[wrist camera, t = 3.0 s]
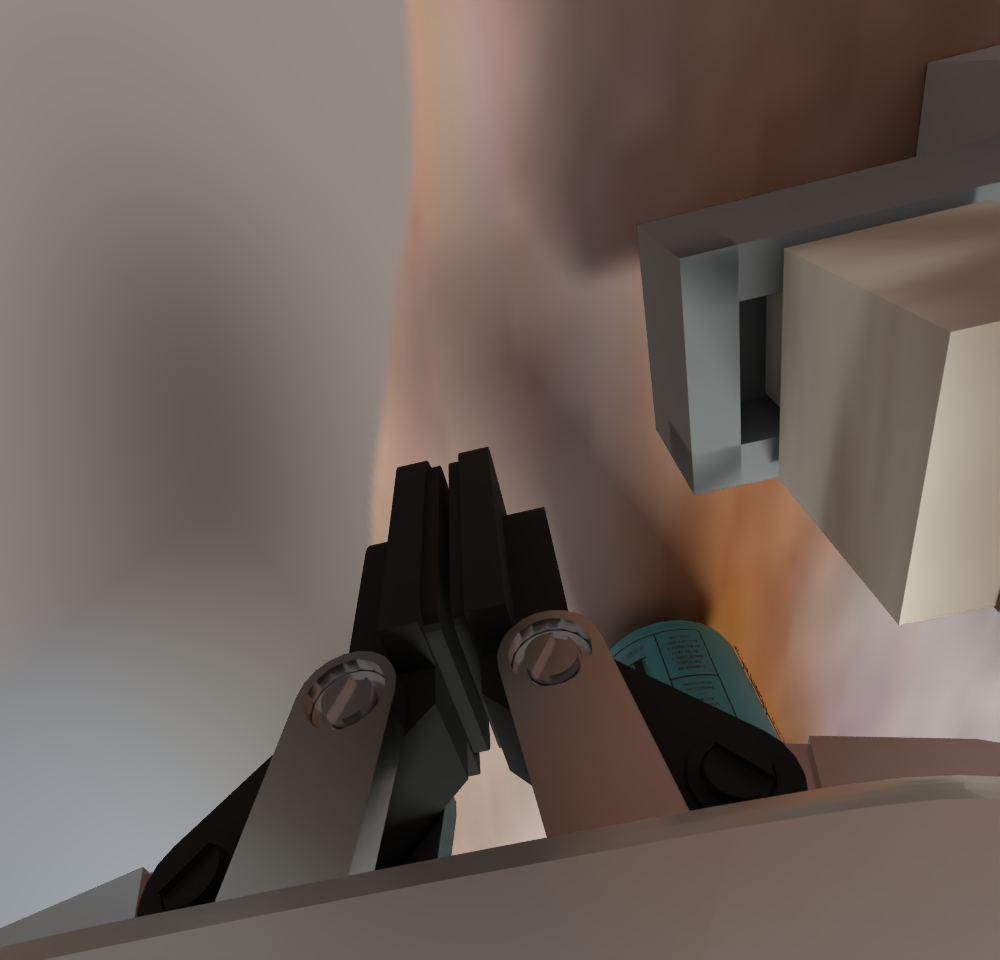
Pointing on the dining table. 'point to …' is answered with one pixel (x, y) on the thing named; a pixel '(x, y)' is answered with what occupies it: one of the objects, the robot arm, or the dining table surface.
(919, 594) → the rider
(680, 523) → the dining table surface
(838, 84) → the dining table surface
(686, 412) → the beam
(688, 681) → the beverage bottle
